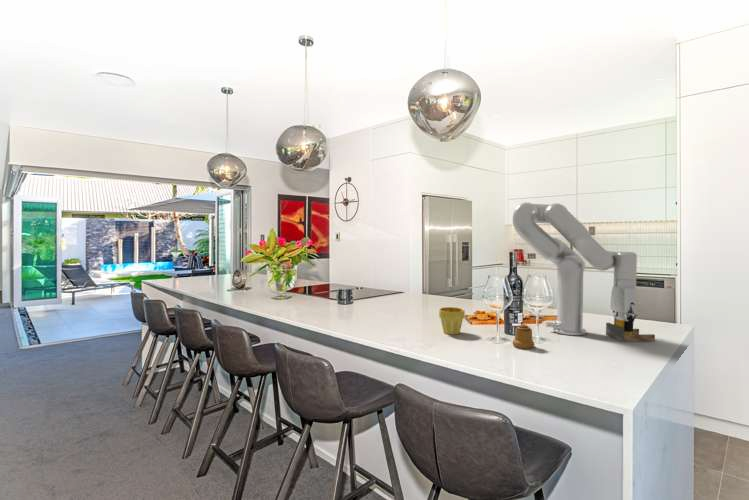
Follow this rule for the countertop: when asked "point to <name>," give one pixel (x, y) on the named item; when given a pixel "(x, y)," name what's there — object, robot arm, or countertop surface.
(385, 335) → the countertop surface
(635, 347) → the countertop surface
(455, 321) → the plant pot
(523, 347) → the ornamental finial
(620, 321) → the supplement bottle
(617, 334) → the guide track
